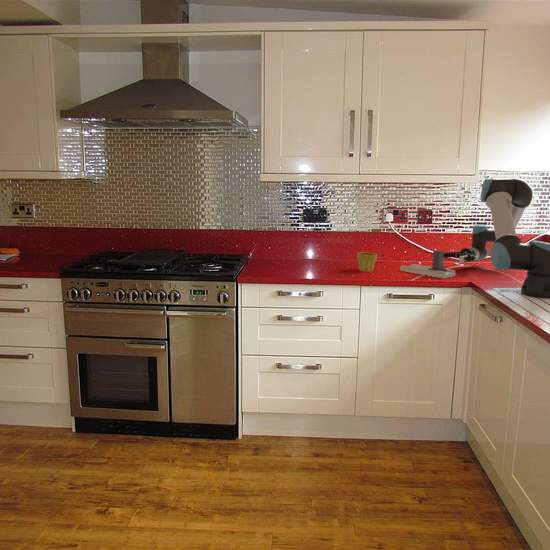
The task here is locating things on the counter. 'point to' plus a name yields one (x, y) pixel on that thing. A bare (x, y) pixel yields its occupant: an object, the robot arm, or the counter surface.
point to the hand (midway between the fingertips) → (447, 257)
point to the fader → (438, 261)
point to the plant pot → (366, 261)
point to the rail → (428, 271)
